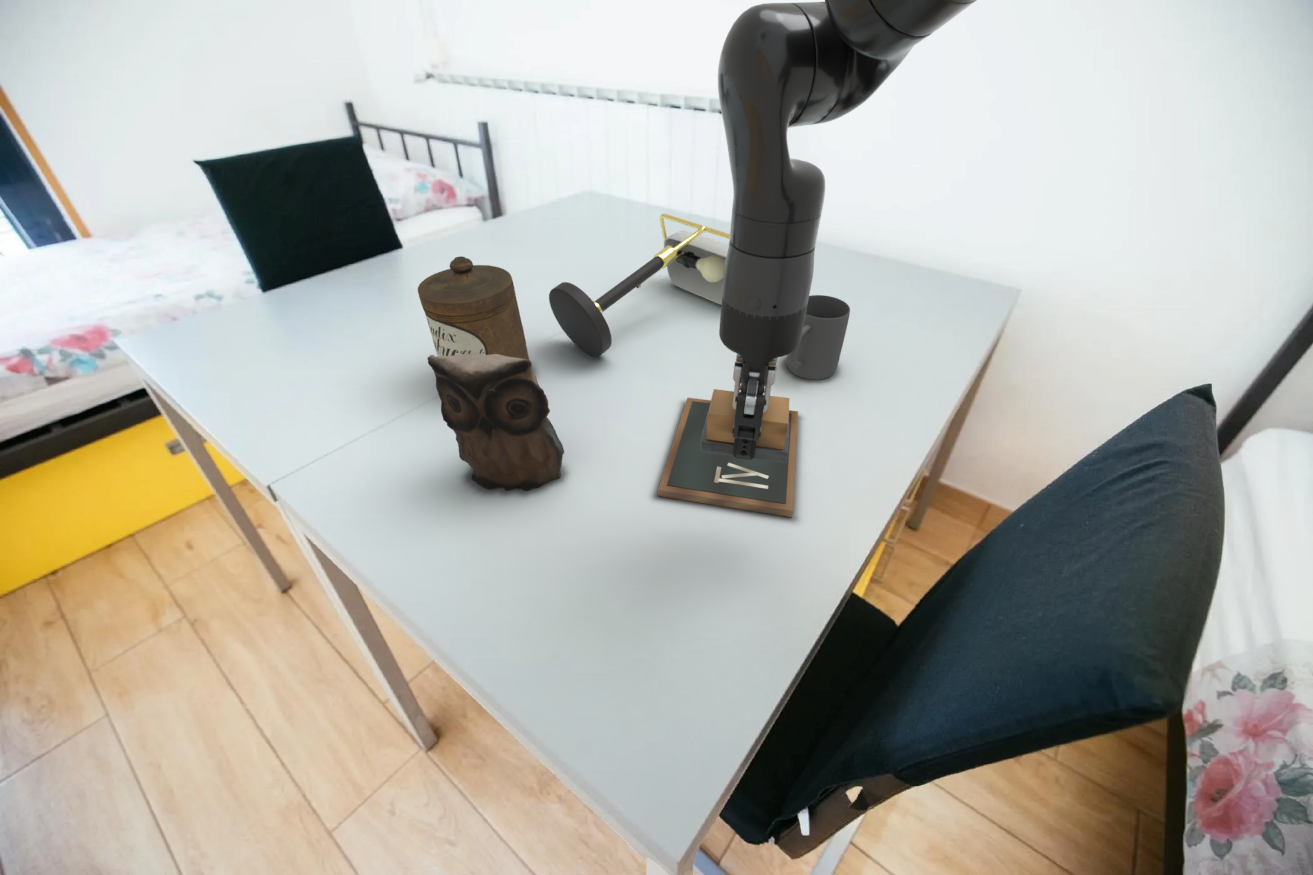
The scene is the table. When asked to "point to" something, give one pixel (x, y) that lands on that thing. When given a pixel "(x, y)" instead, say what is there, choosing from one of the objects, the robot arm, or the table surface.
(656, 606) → the table surface
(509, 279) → the wooden container
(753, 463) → the board
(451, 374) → the owl
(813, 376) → the mug
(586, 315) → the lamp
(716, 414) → the eraser
